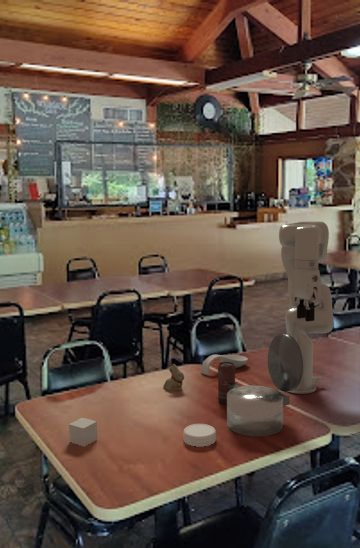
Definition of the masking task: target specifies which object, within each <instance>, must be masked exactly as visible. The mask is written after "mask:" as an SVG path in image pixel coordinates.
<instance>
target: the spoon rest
mask: <svg viewBox="0 0 360 548" xmlns="http://www.w3.org/2000/svg"><path fill="white" fill-rule="evenodd" d="M216 359H217V360H218V359H219V361H220V363H222V362H231V363H234V365H235V369H239V368H241V367H242V366H245V365H246V363H247V362H248V360H249V359H248V357H246V356H243V355H238V354H223V355H222V354H221V355H220V354H212V355H209V356H208V357H207V358H206V359H205V360H204V361H203V364H202V366H201V368H200V374H202V375H205V376H210V367H211V364H212V363H213V362H214V361H215V360H216Z"/></svg>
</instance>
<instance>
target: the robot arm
mask: <svg viewBox="0 0 360 548" xmlns="http://www.w3.org/2000/svg"><path fill="white" fill-rule="evenodd" d="M329 235H330V232H329V227H328V225H327V224H326V223H325V222H324V221H297V222H292V223H285V224H281V225H280V228H279V231H278V240H279V243H280V245H281V246H282V247H281V248H280V249H281V252H280V254H281V255H280V256H281V263H282V266H283V268H284V271H285V272H286V275H287V279H288V280H287V284H288V285H287V287H288V288H287V289H288V301H289V304H290V306H291V307H292V308H289V309H288V310H287V311H286V313H285V315H284V316H285V319H284V320H285V327H286V334H288V335H290V336H292V337H293V338H294V339H295V340H296V342H297V343H298V345H299V347H300V350H301V353H302V358H303V374H302V379H301V381H300V384H299V385H298V387H297V388H296V389H295V390H293V391H288V393H292V394H296V395H297V394H298V395H303V394H304V395H307V394H312V393H314V392H315V391H317V385H316V383H321V382H323V381H324V377H323V376H316V375H313V372H314V371H313V367H314V366H313V365H314V363H313V362H314V360H313V359H314V343H313V342H312V340H311V339H310V337H309V336H308V335H307V334H328V333H330V332H332V330H333V327H334V312H333V301H332V300H333V299H332V293H331V290H330V287H329V286H328V285H327V284H324V283H322V280H321V273H320V270H319V263H321V262H323V261H325V260H326V257H327V253H328V245H329V238H330V237H329Z"/></svg>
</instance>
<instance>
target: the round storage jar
mask: <svg viewBox="0 0 360 548" xmlns="http://www.w3.org/2000/svg"><path fill="white" fill-rule="evenodd" d="M228 388H229V389H231V390H230V391H229V392H228V393H227V404H226V425H227V428H228V429H229V430H230V431H232V432H234V433H236V434H239V435H242V436H246V437H247V436H248V437H268V436H272V435H276V434H278V433H280V432H281V431H282V430H283V425H284V407H285V406H290V395H289V394H287V393H285V392H283V391H281V390H279V389H278V390H277V389H275V388H273V387H268V386H263V385H242V386H240V385H239V384H237V383H236V381H235V382H234V383H228Z"/></svg>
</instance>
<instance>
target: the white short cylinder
mask: <svg viewBox="0 0 360 548" xmlns="http://www.w3.org/2000/svg"><path fill="white" fill-rule="evenodd" d="M182 433H183V442H184V443H185V444H186V445H188V446H190V445H191V446H190V447H194V446H196V447H195V448H205V447H204V446H206V447H209V446H212V445H213V444H215V442H216V441H217V430H216V429H215V427H213V426H212V425H209V424H206V423H193V424H190V425H187V426H186V427H185V428H184V429H183V432H182ZM211 444H212V445H211Z"/></svg>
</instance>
